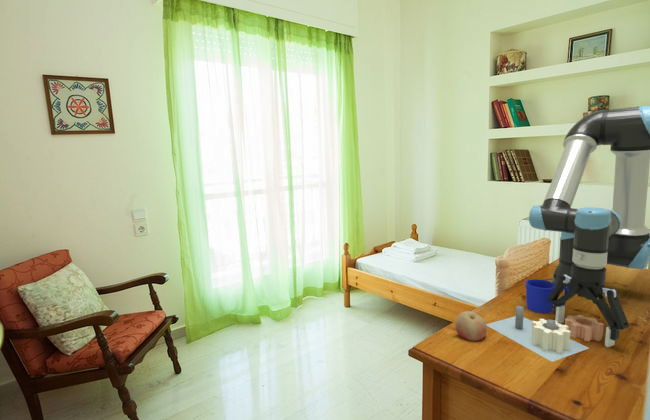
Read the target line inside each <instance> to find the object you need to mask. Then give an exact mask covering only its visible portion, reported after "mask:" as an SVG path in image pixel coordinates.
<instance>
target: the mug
mask: <svg viewBox="0 0 650 420" xmlns="http://www.w3.org/2000/svg"><path fill="white" fill-rule="evenodd" d="M555 287H556V285H555V284H554V283H553V282H552V281H549V280H545V279H536V278H534V279H533V278H532V279H527V280H526V281H525V296H526V298H525V299H526V309H528V311H529V310H530V311H531V312H534V313H537V314H551V313H552V311H553V309H554V305H553V303H552V302H549V301H548V297H549V296H550V294H551V293H552V291H553V290H554V288H555ZM568 291H569V290H568V287H565V288H564V292H563V293H564V294H565V293H567V292H568ZM564 294H563V295H564ZM566 302H567V301H566ZM566 302H564V304H561V305H563V306H565V304H566Z"/></svg>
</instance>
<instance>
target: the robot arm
mask: <svg viewBox="0 0 650 420" xmlns="http://www.w3.org/2000/svg"><path fill="white" fill-rule="evenodd" d="M598 146H610V149H609V150H610V152H611V153H613V154H614V155H615V163H614V179H613V195H612V199H613V200H612V209H608V208H603V207H594V206H593V207H587V206H586V207H580V208H573V207H572V206H573V203H574V200H575V197H576V195H577V191H578V189H579V187H580V184H581V182H582V181H581V180H582V177H583V175H584V172H585V169H586V167H587V164H588V162H589V158H590V156H591V154H592V153H593V152H595V151H596V150H597V147H598ZM562 147H563V151H562V154H561V157H560V158H559V162H558V163H557V167H556V170H555V172H554V174H553V177H552V180H551V182H550V184H549V186H548V190H547V192H546V195H545V197H544V200H543V202H542V205H541V204H540V205H539V204H538V205H534V206H532V208H530V211H529V215H528V218H529V219H528V221H529V222H528V223H529V225H530V227H531V228H533V229H536V230H542V231H545V232H546V231H548V232H549V231H550V232H559V233H560V237H559V240H560V241H559V256H558V264H557V266H556V268H555V271H554V272H553V274H552V277H551V278H552V281H551V282H552V283H553V284H555V286H556V287H555V288H554V290H553V291H552V293H551V294H550V296H549V297H548V301H549V302H552V303H553V306H554V308H553V316H555V317H554V318H555V321H558V323H559V324H561V325H563V324H565V312H566V306H565V305H564V306H563V305H561V304H564V302H568V301H569V300H570V299H572V298H573V297H575V296H576V295H577V296H578V297H581V298H584V299H586V300H587V301H588V300H589V301H590V300H591V301H592V303H593V304H594V305H596V308H597V309H598V310H599V312H600V313H601V315H602V316H603V318H604V320H605V322H606V323H607V324H608V326H606V327H605V328H606V329H605V331H606V332H605V337H604V346H605V347H606V348H610V347H613V346H615V343H616V342H615V341H618V340H619V338H620V331H622V330H626V329H629V328H630V323H629V321H628V319H627V316H626V313H625V311H624V308H623V307H622V304H621V301H620V299H619V290H618V289H616V288H613V289H612V288H607V287H605V282H606V275H607V268H606V266H607V265H611V266H617V267H622V268H627V269H635V270H643V269H645V268H646V267H648V265H649V263H650V229H649V228H648V227H647V226H646V225H645V223H646V211H647V200H648V199H647V198H648V187H649V186H648V185H649V178H650V177H649V175H650V105H640V106H632V107H631V106H630V107H621V108H611V109H601V110H596V111H592V113H590V114H587V115H586V116H583V117H582V118H581V119H580V120H579V121H577V122H576V123H575V124H573V126H572V127H571V128H570V129H569V131H568V132H567V134H566V135H565V137H564V140H563V142H562ZM565 287H568V292H567V293H565V294H563V295H561V294H562V292H563V291H565V289H564V288H565ZM603 294H604V295H603ZM560 295H561V296H560Z"/></svg>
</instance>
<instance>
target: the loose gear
mask: <svg viewBox="0 0 650 420" xmlns="http://www.w3.org/2000/svg"><path fill="white" fill-rule="evenodd" d="M564 325H567V326H568V327H569V331H571V333H570V337H572V338H575V339H576V338H579V339H583V340H584V342H591V341H594V340H595V341H597V342H599V341H602V338H603V337H604V326H605V324H604V323H603V322H599V321H598V320H597V319H596V317H595V318H594V317H586V316H584V315H583V314H577V315H571V314H569V315H567V316H566V318H565V317H564Z"/></svg>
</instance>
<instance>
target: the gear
mask: <svg viewBox="0 0 650 420" xmlns="http://www.w3.org/2000/svg"><path fill="white" fill-rule="evenodd" d="M547 320H548V319H544V318H539V319H538V321H537V320H536V321H535V320H532V321H533V322H532V334H531V339H532V343H533V344H534V345H539V346H540V347H542V350H545V351H548V350H552V351H556V352H557V353H562V350H563V349H564V350H569V346H570V339H571V334H570V333H571V331H569V327H568V326H567V325H565V324H559V323H558V321H555V320H554V319H553V320H554V321H555V322H556V325H555V330H550V329H547V328H546V325H547Z"/></svg>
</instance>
